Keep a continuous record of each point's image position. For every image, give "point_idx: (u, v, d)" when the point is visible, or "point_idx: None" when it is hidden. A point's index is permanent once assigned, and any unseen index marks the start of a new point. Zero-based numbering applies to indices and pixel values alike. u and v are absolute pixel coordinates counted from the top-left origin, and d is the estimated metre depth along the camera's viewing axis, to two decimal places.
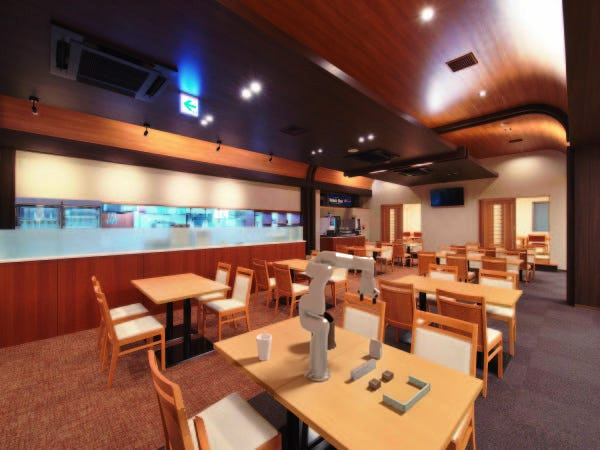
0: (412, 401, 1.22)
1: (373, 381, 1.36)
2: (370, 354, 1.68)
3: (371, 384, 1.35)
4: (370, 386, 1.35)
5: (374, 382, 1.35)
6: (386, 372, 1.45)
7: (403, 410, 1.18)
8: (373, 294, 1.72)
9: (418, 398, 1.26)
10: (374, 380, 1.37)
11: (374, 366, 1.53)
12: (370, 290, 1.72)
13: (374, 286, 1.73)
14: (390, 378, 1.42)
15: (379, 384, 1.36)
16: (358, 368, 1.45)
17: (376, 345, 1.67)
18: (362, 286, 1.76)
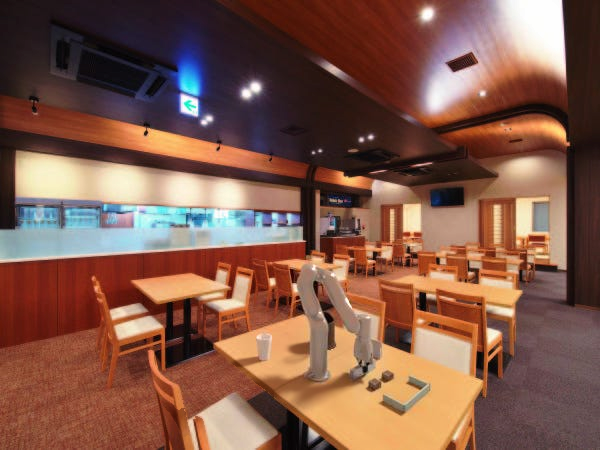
0: (412, 401, 1.22)
1: (373, 381, 1.36)
2: None
3: (371, 384, 1.35)
4: (370, 386, 1.36)
5: (374, 382, 1.35)
6: (387, 372, 1.45)
7: (403, 410, 1.18)
8: (366, 362, 1.46)
9: (418, 398, 1.26)
10: (374, 380, 1.37)
11: (373, 366, 1.53)
12: (366, 357, 1.44)
13: (371, 352, 1.45)
14: (390, 378, 1.42)
15: (379, 384, 1.35)
16: (357, 367, 1.45)
17: (376, 345, 1.67)
18: (356, 350, 1.49)
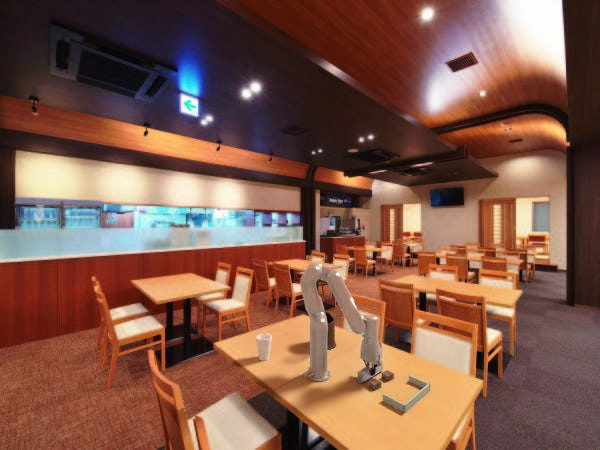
0: (412, 401, 1.22)
1: (373, 381, 1.36)
2: None
3: (370, 384, 1.35)
4: (370, 386, 1.36)
5: (374, 382, 1.35)
6: (387, 372, 1.45)
7: (403, 410, 1.18)
8: (373, 364, 1.43)
9: (418, 398, 1.26)
10: (374, 380, 1.37)
11: (381, 368, 1.50)
12: (373, 358, 1.41)
13: (378, 353, 1.42)
14: (389, 378, 1.42)
15: (379, 384, 1.35)
16: (365, 369, 1.42)
17: None
18: (364, 351, 1.45)
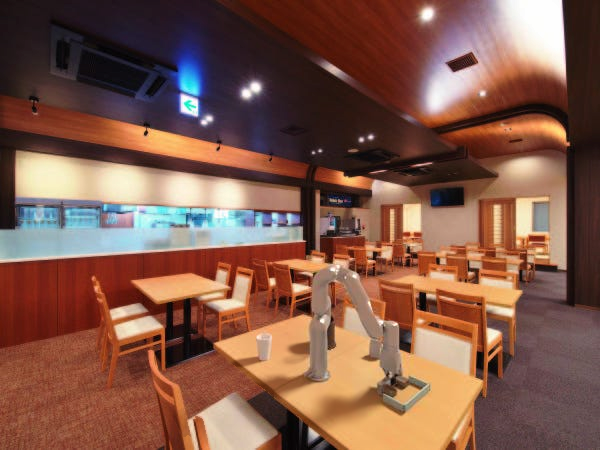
0: (412, 401, 1.22)
1: (389, 389, 1.30)
2: (370, 354, 1.68)
3: (387, 392, 1.29)
4: (386, 394, 1.29)
5: (390, 390, 1.29)
6: (402, 378, 1.39)
7: (403, 410, 1.18)
8: None
9: (418, 398, 1.26)
10: (390, 387, 1.31)
11: None
12: (394, 368, 1.32)
13: (400, 362, 1.33)
14: (406, 385, 1.36)
15: (395, 391, 1.29)
16: (385, 380, 1.33)
17: (376, 345, 1.67)
18: (383, 360, 1.36)
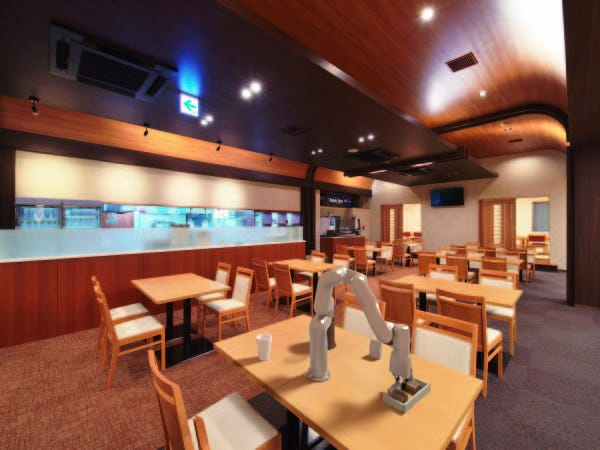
0: (412, 401, 1.22)
1: (399, 395, 1.25)
2: (370, 354, 1.68)
3: (397, 398, 1.24)
4: None
5: (401, 396, 1.25)
6: (412, 383, 1.35)
7: (403, 410, 1.18)
8: None
9: (418, 398, 1.26)
10: (400, 393, 1.27)
11: (411, 381, 1.37)
12: (405, 372, 1.28)
13: (410, 367, 1.28)
14: (417, 390, 1.32)
15: (406, 397, 1.25)
16: (395, 386, 1.28)
17: (376, 345, 1.67)
18: (393, 364, 1.32)
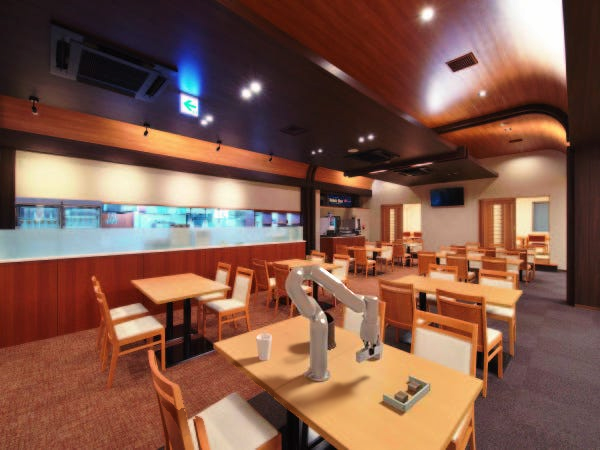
0: (412, 401, 1.22)
1: (400, 395, 1.25)
2: None
3: (397, 397, 1.25)
4: None
5: (401, 396, 1.25)
6: (413, 383, 1.35)
7: (403, 410, 1.18)
8: (373, 344, 1.43)
9: (418, 398, 1.26)
10: (400, 393, 1.27)
11: (380, 349, 1.50)
12: (372, 338, 1.41)
13: (378, 333, 1.42)
14: (417, 390, 1.32)
15: (406, 398, 1.25)
16: (364, 350, 1.42)
17: None
18: (363, 331, 1.45)
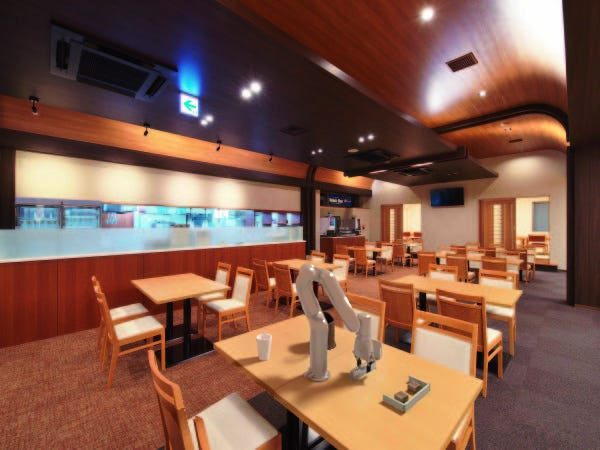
0: (412, 401, 1.22)
1: (399, 395, 1.25)
2: None
3: (397, 397, 1.25)
4: (396, 399, 1.25)
5: (400, 396, 1.25)
6: (413, 383, 1.35)
7: (403, 410, 1.18)
8: (368, 361, 1.45)
9: (418, 398, 1.26)
10: (401, 393, 1.27)
11: (374, 366, 1.53)
12: (366, 355, 1.44)
13: (371, 350, 1.45)
14: (416, 390, 1.32)
15: (406, 398, 1.25)
16: (358, 368, 1.45)
17: (376, 345, 1.67)
18: (357, 349, 1.49)
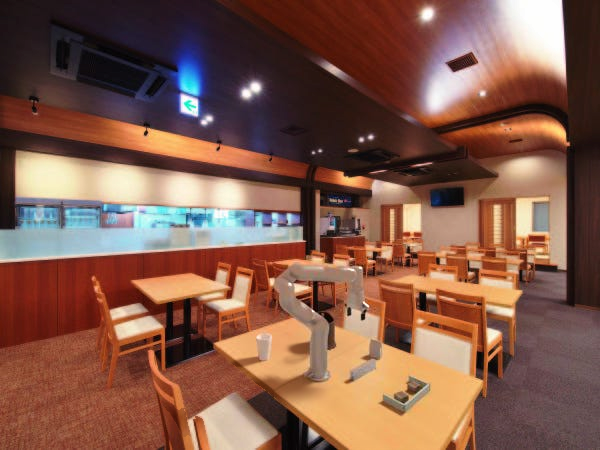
0: (412, 401, 1.22)
1: (399, 395, 1.25)
2: (370, 354, 1.68)
3: (396, 397, 1.25)
4: (395, 399, 1.25)
5: (400, 396, 1.25)
6: (413, 383, 1.35)
7: (403, 410, 1.18)
8: (361, 309, 1.51)
9: (418, 398, 1.26)
10: (401, 393, 1.27)
11: (374, 366, 1.53)
12: (358, 304, 1.51)
13: (363, 300, 1.52)
14: (416, 390, 1.32)
15: (406, 398, 1.24)
16: (358, 368, 1.45)
17: (376, 345, 1.67)
18: (349, 299, 1.55)
